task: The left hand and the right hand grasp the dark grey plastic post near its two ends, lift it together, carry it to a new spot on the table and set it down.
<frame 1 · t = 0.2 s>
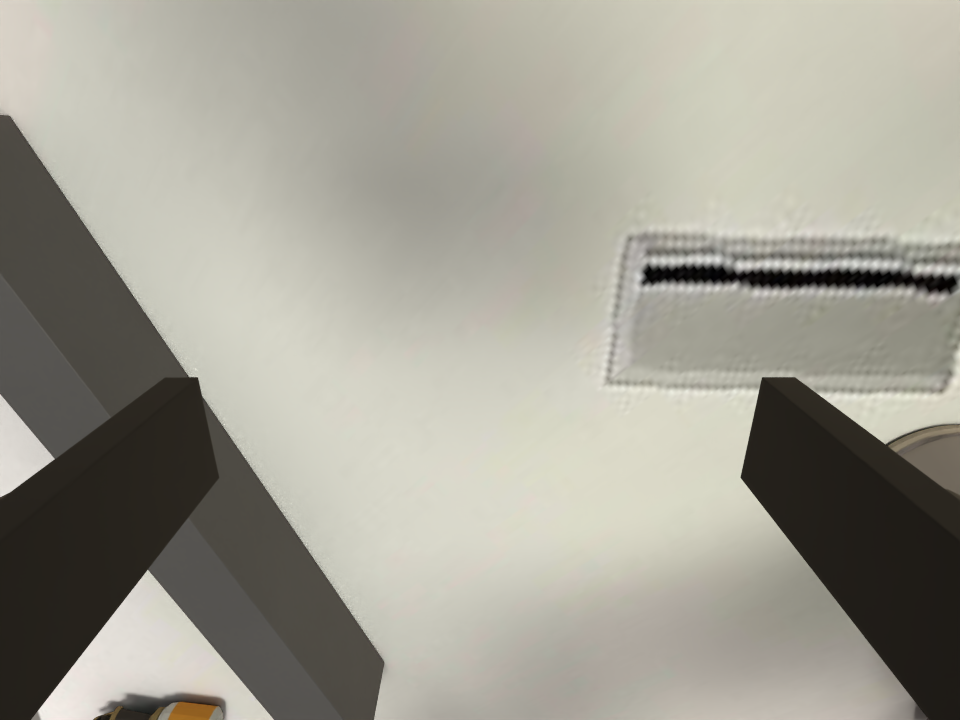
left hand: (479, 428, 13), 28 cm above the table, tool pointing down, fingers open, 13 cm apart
post: (209, 457, 45), on the table
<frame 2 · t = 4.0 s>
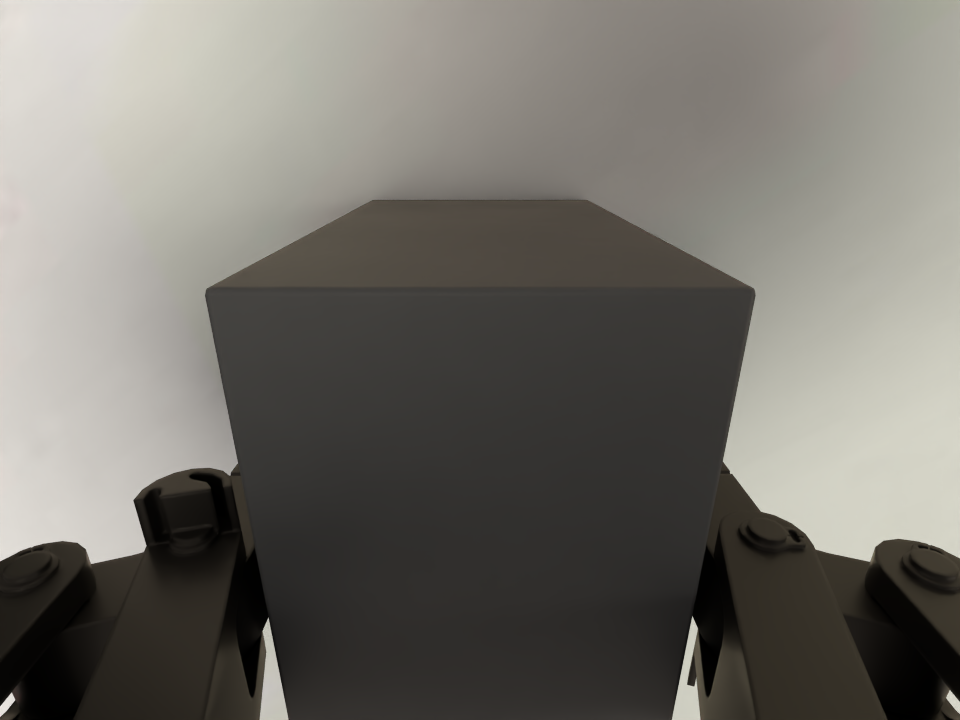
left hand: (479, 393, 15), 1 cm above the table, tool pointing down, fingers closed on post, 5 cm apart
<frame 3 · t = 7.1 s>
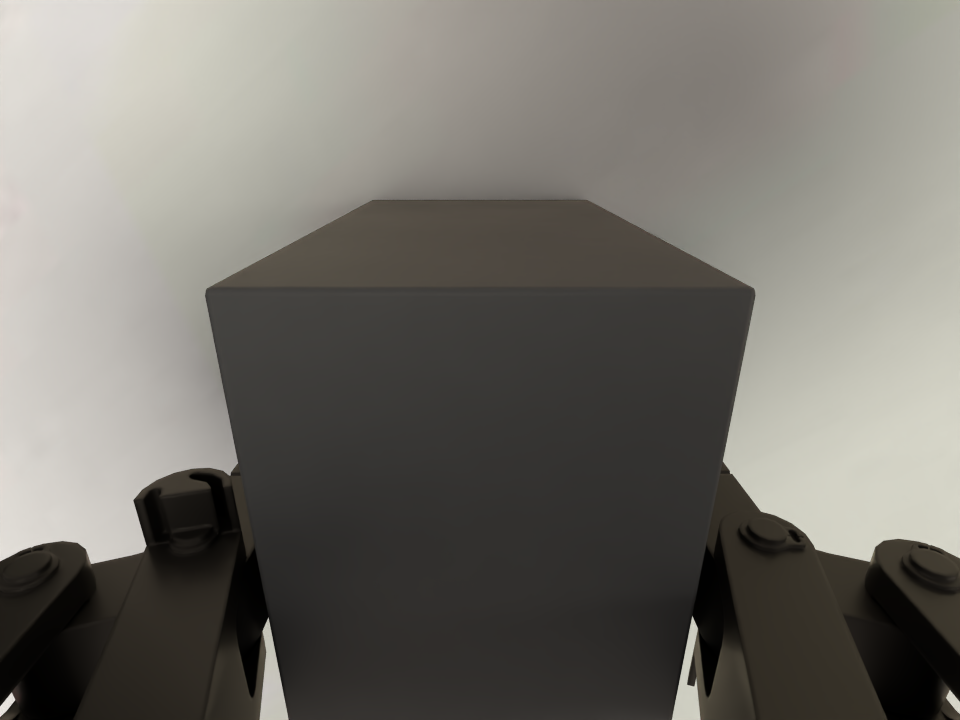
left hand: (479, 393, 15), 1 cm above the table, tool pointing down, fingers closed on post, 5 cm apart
when the left hand's fingers open (2 cm above the table, at t = 15.6 s): post drops 1 cm, on the table.
when the right hand's fingers open (2 cm above the table, at t = 15.7 s): post drops 1 cm, on the table.
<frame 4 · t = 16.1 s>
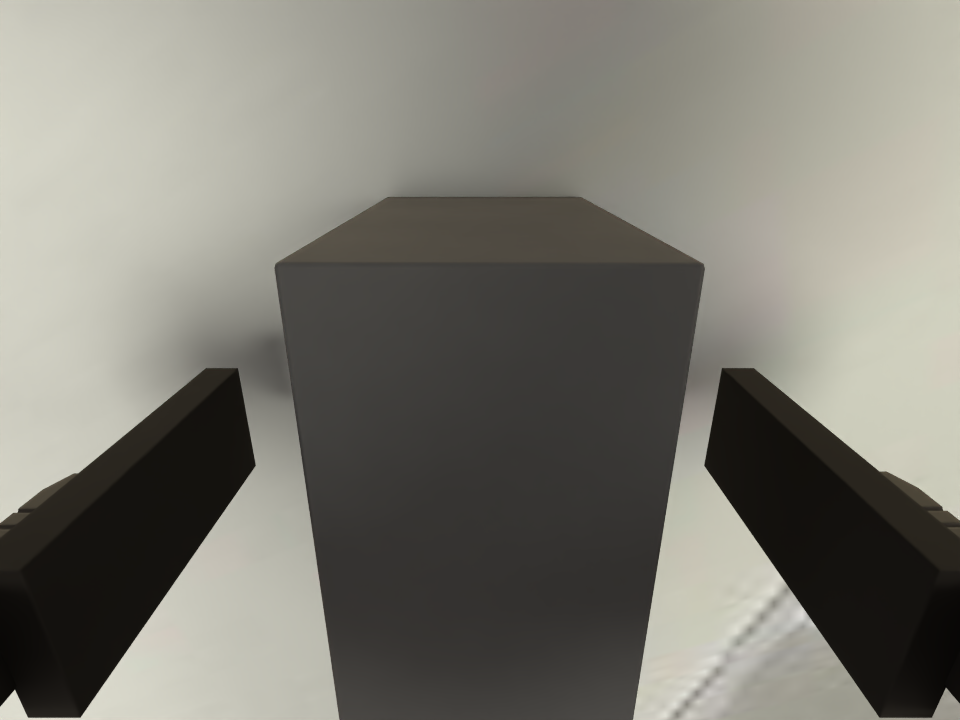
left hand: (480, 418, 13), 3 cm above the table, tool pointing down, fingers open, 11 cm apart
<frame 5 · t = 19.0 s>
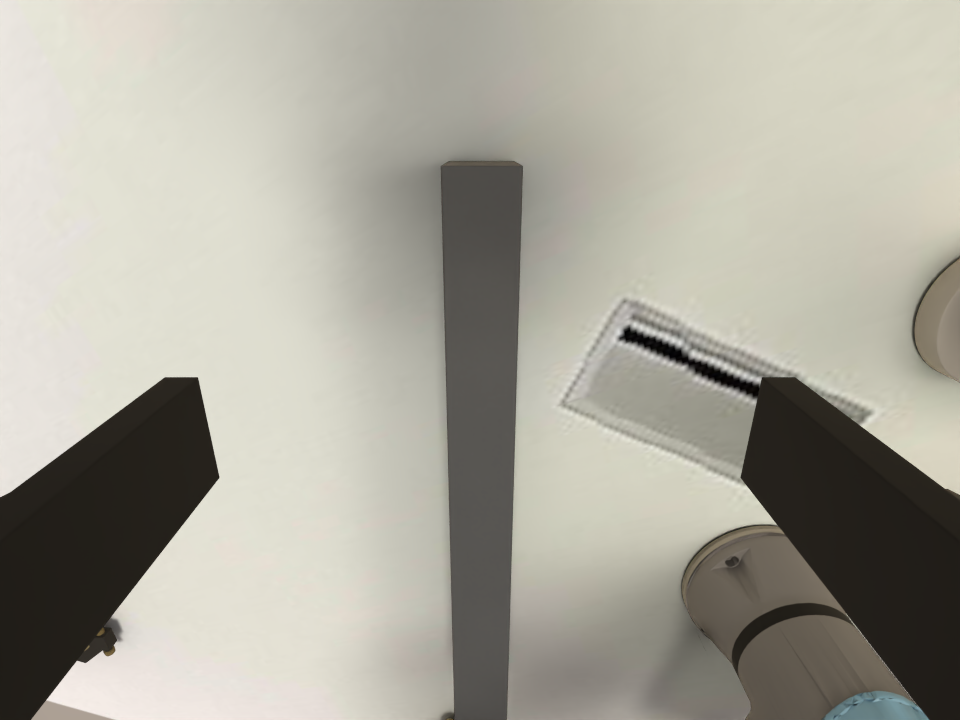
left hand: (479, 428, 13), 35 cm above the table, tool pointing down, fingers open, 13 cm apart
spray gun: (53, 589, 60), on the table
post: (481, 455, 53), on the table
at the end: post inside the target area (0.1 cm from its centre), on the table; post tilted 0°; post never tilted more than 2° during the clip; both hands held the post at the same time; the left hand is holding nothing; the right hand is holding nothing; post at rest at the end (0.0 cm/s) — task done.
